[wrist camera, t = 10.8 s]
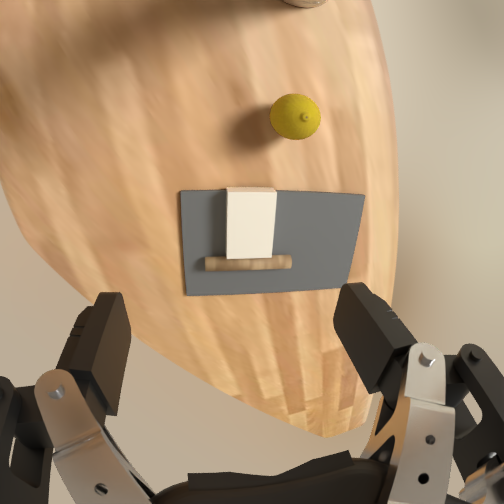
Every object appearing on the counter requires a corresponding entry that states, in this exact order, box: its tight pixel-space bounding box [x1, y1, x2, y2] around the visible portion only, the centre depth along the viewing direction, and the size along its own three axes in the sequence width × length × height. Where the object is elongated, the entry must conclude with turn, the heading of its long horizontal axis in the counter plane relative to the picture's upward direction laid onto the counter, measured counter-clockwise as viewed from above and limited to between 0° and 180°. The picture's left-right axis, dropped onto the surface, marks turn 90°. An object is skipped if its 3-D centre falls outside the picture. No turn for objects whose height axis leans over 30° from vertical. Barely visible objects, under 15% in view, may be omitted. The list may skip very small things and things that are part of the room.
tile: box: [225, 187, 277, 259], centre depth 37 cm, size 2×6×9 cm
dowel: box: [205, 255, 292, 271], centre depth 40 cm, size 2×12×2 cm, turn 87°
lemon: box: [270, 94, 321, 140], centre depth 29 cm, size 6×6×8 cm
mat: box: [181, 190, 365, 296], centre depth 40 cm, size 16×26×1 cm, turn 87°
